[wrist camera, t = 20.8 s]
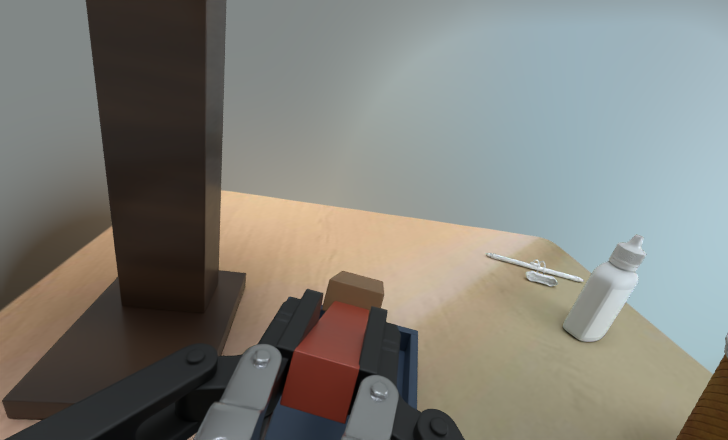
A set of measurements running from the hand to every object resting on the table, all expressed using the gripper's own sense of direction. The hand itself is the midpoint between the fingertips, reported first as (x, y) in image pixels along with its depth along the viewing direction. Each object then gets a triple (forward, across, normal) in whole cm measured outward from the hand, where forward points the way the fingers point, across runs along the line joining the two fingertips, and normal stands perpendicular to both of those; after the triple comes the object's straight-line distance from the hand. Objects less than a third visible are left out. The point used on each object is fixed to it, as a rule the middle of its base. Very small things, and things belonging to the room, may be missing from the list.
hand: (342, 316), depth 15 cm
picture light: (+32, -23, +12) cm, 41 cm away
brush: (+3, 0, +4) cm, 5 cm away
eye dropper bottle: (+22, -25, +12) cm, 35 cm away
